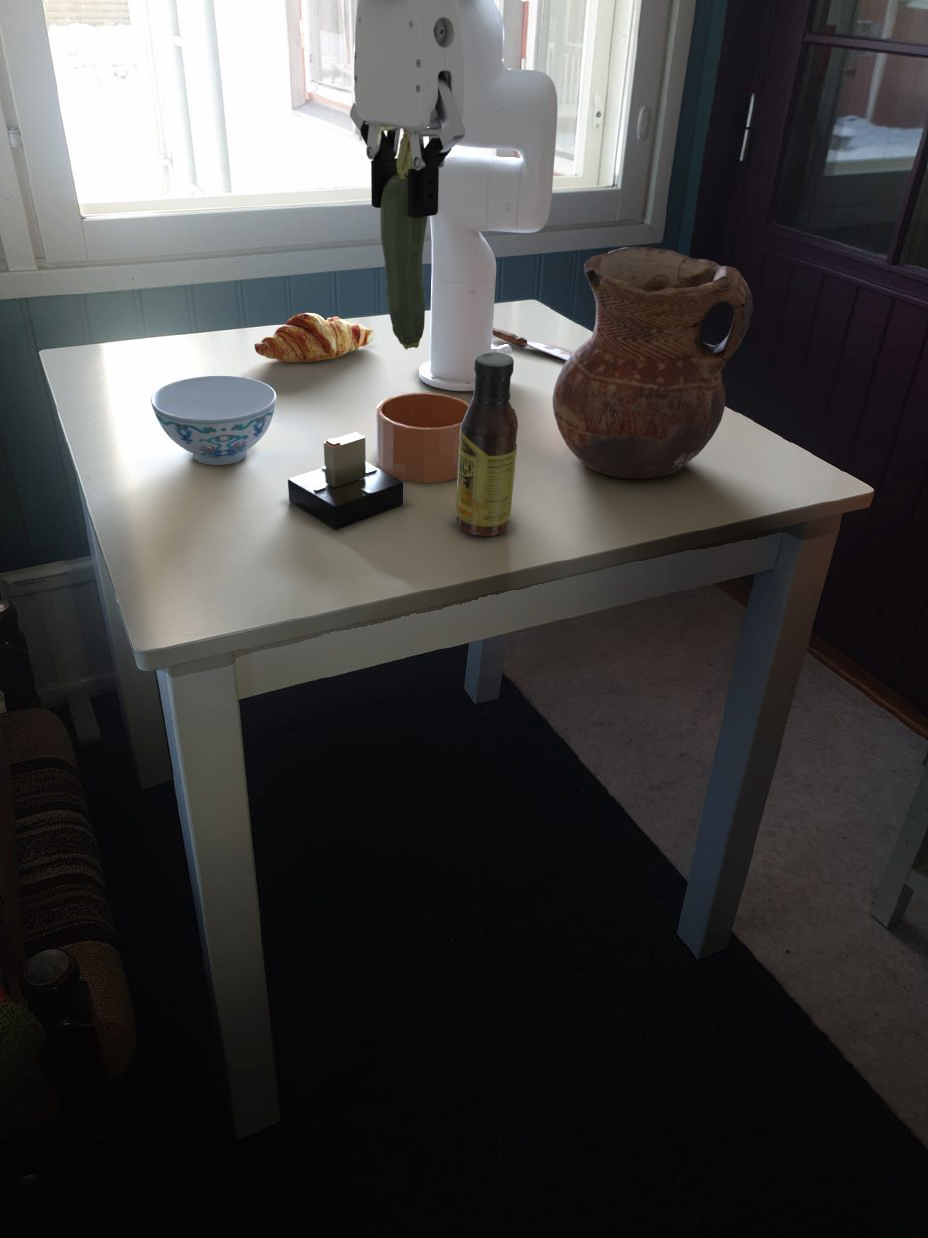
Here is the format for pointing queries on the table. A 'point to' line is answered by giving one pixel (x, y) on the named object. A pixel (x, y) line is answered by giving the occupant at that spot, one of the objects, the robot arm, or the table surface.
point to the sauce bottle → (487, 449)
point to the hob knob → (344, 459)
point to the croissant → (313, 339)
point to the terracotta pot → (420, 436)
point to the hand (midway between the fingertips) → (404, 208)
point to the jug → (649, 362)
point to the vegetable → (403, 253)
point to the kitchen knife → (530, 344)
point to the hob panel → (346, 496)
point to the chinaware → (215, 415)
